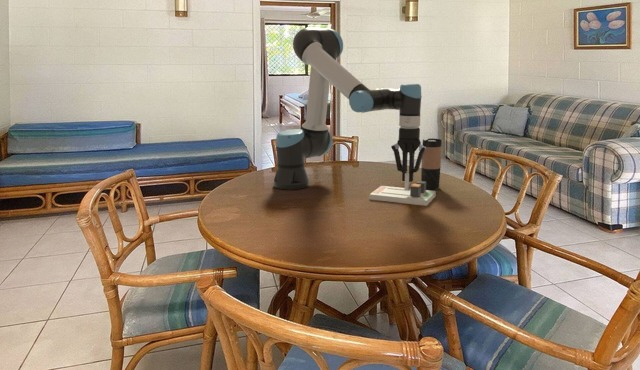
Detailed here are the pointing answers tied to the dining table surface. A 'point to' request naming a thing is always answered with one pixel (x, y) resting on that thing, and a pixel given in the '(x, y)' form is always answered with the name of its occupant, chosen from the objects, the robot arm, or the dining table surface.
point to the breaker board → (403, 195)
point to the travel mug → (431, 163)
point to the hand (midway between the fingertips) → (407, 189)
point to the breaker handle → (415, 190)
